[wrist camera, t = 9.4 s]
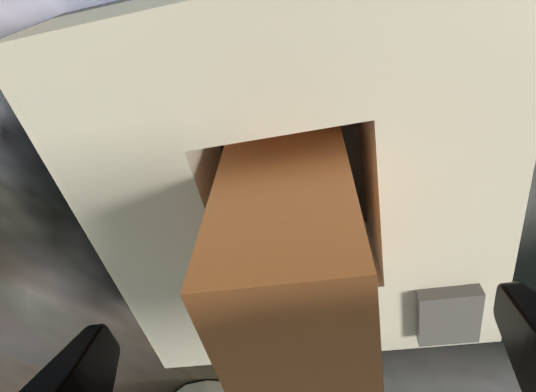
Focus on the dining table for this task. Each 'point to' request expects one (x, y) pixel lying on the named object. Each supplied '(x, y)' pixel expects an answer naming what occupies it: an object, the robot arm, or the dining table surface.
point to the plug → (286, 270)
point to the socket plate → (289, 122)
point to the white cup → (202, 387)
